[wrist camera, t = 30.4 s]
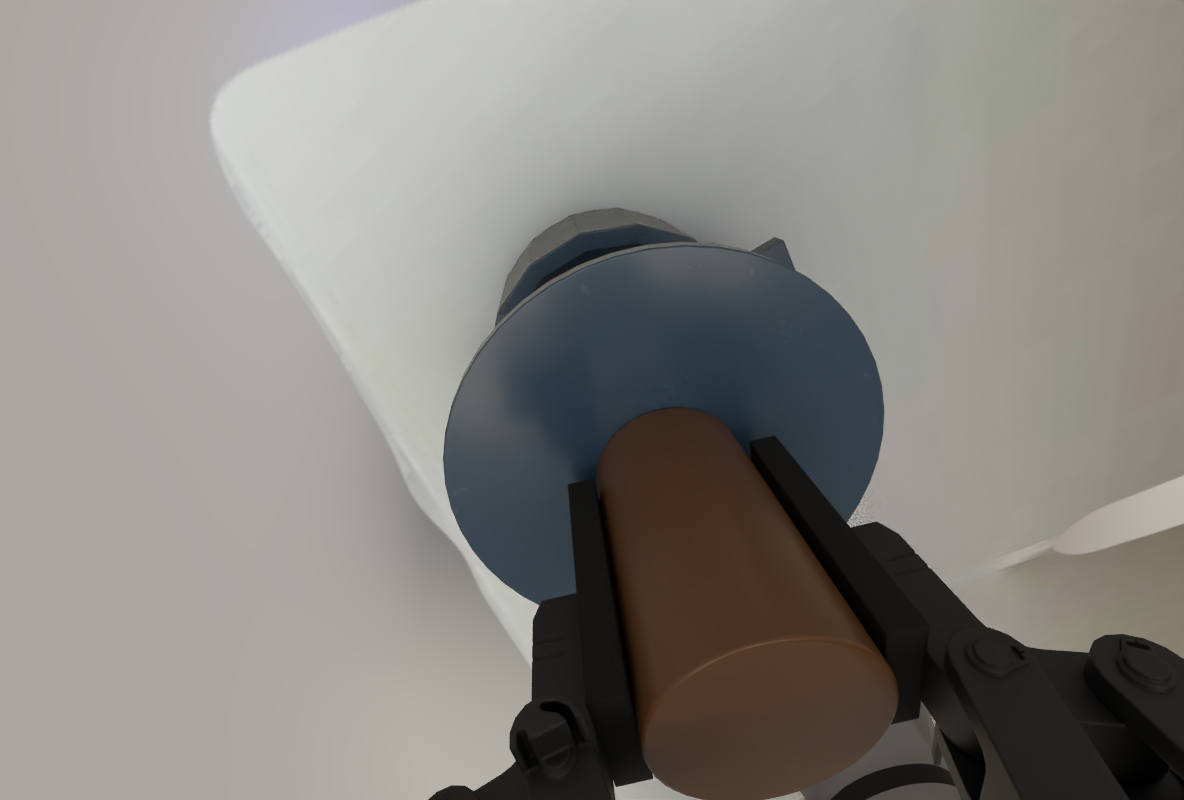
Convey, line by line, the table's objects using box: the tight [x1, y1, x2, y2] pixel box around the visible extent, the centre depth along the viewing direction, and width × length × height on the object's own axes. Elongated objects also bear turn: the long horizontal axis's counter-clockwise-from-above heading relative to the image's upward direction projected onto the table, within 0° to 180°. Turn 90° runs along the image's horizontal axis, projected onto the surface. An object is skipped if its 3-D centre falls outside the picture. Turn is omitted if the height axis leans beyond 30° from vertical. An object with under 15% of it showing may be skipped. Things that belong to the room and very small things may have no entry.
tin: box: [495, 208, 795, 327], centre depth 28 cm, size 13×18×8 cm
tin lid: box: [443, 242, 899, 800], centre depth 13 cm, size 14×14×9 cm
